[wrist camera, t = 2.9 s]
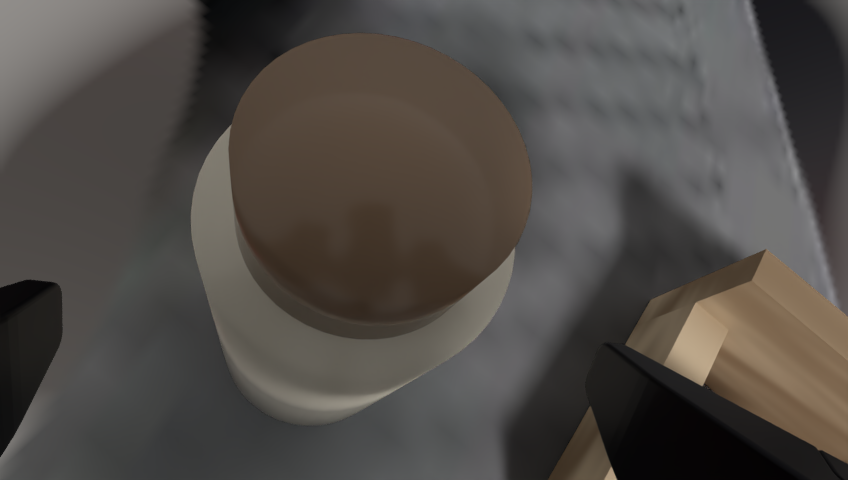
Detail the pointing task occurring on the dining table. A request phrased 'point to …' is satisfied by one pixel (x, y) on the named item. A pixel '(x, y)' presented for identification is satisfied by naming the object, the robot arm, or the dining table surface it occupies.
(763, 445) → the robot arm
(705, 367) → the wooden frame
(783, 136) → the dining table surface
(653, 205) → the dining table surface
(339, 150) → the jar
